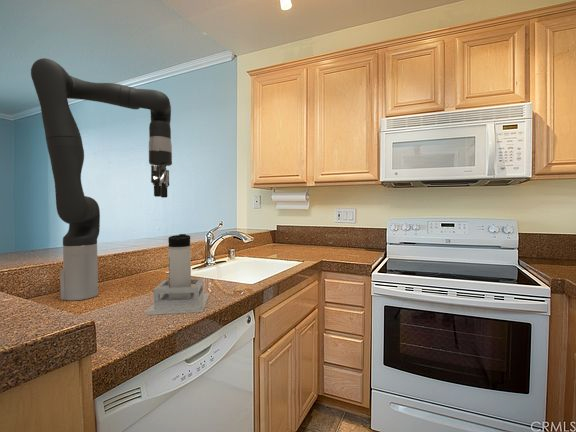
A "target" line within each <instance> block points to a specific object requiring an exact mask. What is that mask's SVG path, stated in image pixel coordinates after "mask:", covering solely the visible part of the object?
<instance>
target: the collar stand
mask: <svg viewBox="0 0 576 432" xmlns="http://www.w3.org/2000/svg"><path fill="white" fill-rule="evenodd" d="M193 285H194V286H193ZM173 293H191V298H190V299H170V300H169V294H173ZM209 297H210V293H206V292H205V293H204V278H201V277H200V278H191V286H188V287H169V279H163V280H162V281H161V282H160V283H159V284H158V285H156V286H155V287H154V288H153V303H152V304H151V305H150V306H149V307H148V308H147V310H146V311H145V316H154V315H173V314H175V315H176V314H190V313H203V312H204V310H205V308H206V305H207V302H208V300H209Z"/></svg>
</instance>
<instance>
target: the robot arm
mask: <svg viewBox="0 0 576 432" xmlns="http://www.w3.org/2000/svg"><path fill="white" fill-rule="evenodd" d="M30 76H31V79H32V84H33V86H34V89H35V92H36V95H37V98H38V103H39V106H40V111H41V118H42V123H43V130H44V135H45V141H46V147H47V151H48V155H49V159H50V166H51V170H52V175H53V180H54V181H53V182H54V192H55V206H56V212H57V215H58V217H59V218H60V219H61V221H63V222H64V223H65V224H68V230H67V232H66V234H65V235H64V236H63V238H62V260H63V261H62V262H63V263H62V265H63V266H62V269H60V271H59V280H60V281H59V283H60V284H59V286H60V287H59V288H60V300H62V301H63V300H64V301H79V300H80V301H82V300H87V299H92V298H94V297H97V296H98V295H99V277H98V275H99V272H98V271H99V270H98V269H99V268H98V239H99V238H98V237H99V235H100V226H101V225H100V223H101V211H100V206H99V203H98V202H97V201H96V200H95V198H92V197H90V196H88V195H87V196H86V195H85V192H84V189H83V184H82V169H83V166H84V162H85V152H84V151H85V150H84V145H83V141H82V139H83V138H82V136H81V132H80V129H79V127H78V124H77V122H76V119H75V118H74V116H73V113H72V111H71V108H70V105H69V101H68V99H72V100H82V101H90V102H91V101H92V102H98V103H104V104H108V105H113V106H116V107H117V106H118V107H122V108H124V109H125V108H126V109H130V110H140V109H145V110H149V111H150V123H149V127H148V128H149V129H148V130H149V133H148V134H149V137H148V139H149V140H148V164H149V165H150V172H151V176H150V182H151V183H152V186H153V196H154V197H155V198H157V197H160V198H162V199H163V198H168V188H169V187H170V170H169V169H167V166H168V167H169V166H172V165H173V161H172V160H173V153H172V152H173V149H172V134H171V133H172V130H171V121H172V119H171V118H172V117H171V115H172V107H171V101H170V98H169V97H168V94H165V93H164V92H162V91H159V90H155V89H147V88H135V87H133V86H128V85H123V84H119V83H115V82H114V83H113V82H91V81H86V80H82V79H80V78H77V77H74V76H72V75H70V74H69V73H68V71H66V69H65V68H64V67H63V66H62V65H60V64H59V63H58V62H56V61H54V60H52V59H50V58H47V57H46V58H39V59H37V60H35V61H34V62H33V64H32V66H31V68H30Z"/></svg>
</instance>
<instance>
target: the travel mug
mask: <svg viewBox="0 0 576 432" xmlns="http://www.w3.org/2000/svg"><path fill="white" fill-rule="evenodd" d="M167 239H168V246H167V247H168V249H167V250H168V252H167V253H168V254H167V255H168V256H167V257H168V258H167V259H168V280H169V285H168V287H188V286H192V284H191V279H192V270H191V269H192V265H191V264H192V263H191V262H192V261H191V260H192V259H191V257H192V256H191V255H192V254H191V251H192V250H191V247H192V246H191V235H188V234H187V233H180V234H178V235H177V234H176V235H170V236H169V237H168V238H167ZM190 298H191V293H173V294H169V300H170V299H190Z"/></svg>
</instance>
